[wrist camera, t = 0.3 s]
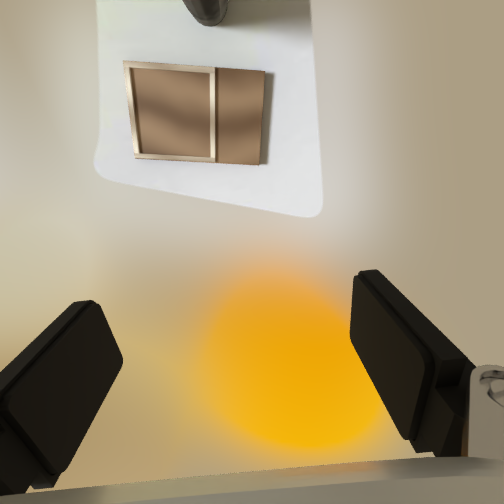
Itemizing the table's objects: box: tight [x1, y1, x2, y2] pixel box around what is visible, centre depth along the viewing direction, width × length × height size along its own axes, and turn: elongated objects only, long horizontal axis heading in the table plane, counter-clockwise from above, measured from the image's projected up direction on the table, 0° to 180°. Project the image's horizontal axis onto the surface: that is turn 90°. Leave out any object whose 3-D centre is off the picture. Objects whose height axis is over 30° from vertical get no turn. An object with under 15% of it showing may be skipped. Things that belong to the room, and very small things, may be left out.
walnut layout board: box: [123, 61, 265, 165], centre depth 33 cm, size 11×17×2 cm, turn 87°
